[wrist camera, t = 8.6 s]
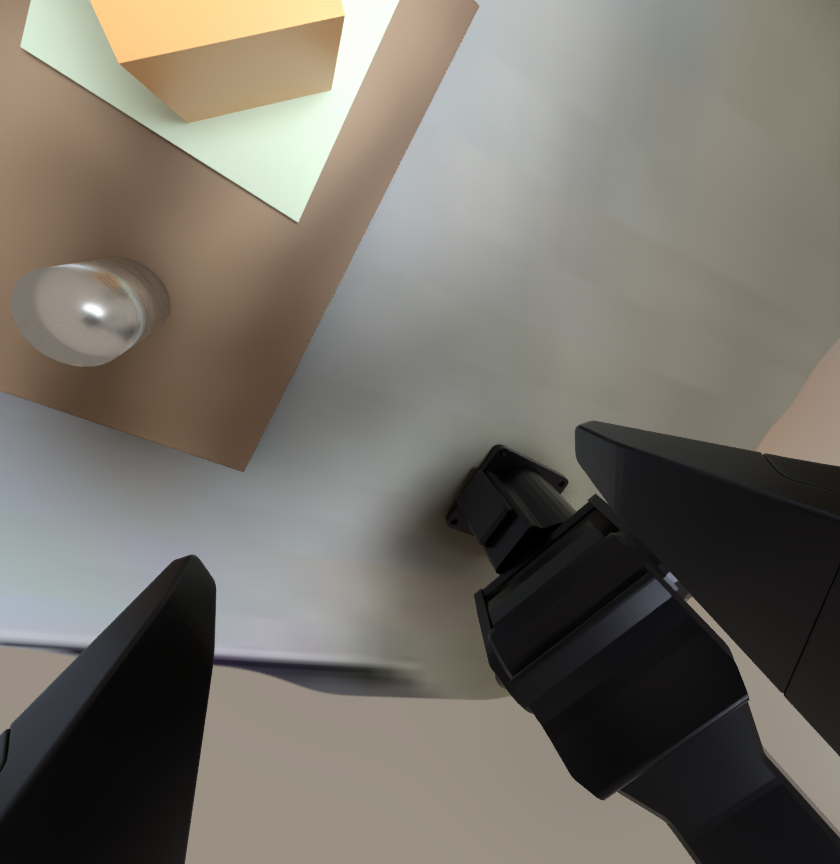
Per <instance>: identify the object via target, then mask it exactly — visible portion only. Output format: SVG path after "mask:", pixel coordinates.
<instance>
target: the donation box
mask: <svg viewBox="0 0 840 864" xmlns="http://www.w3.org/2000/svg"><path fill="white" fill-rule="evenodd" d="M90 2H91V4H92V6H93V9H94V11H95V13H96V15H97V17H98V19H99V22H100V24H101V26H102V28H103V30H104V32H105V35H106V37H107V39H108V41H109V43H110V46H111V48H112V50H113V52H114V54H115V56H116V59H117V61H118V63H119V64H120V65H121V66H122V67H123V68H125V69H126V70H127V71H128V72H129V73H130V74H131V75H133V76H134V77H135V78H136V79H137V80H138V81H140V82H141V83H142V84H143V85H144V86H145V87H147V88H148V89H149V90H150V91H151V92H152V93H153V94H155V95H156V96H157V97H158V98H159V99H160V100H162V101H163V102H164V103H165V104H166V105H167V106H169V107H170V108H171V109H172V110H173V111H174V112H175V113H177V114H178V115H179V116H180V117H181V118H182V119H184V120H185V121H186V122H187V123H191V122H195V121H200V120H204V119H208V118H213V117H217V116H221V115H226V114H230V113H234V112H239V111H243V110H247V109H252V108H256V107H260V106H264V105H269V104H273V103H277V102H282V101H286V100H290V99H295V98H299V97H303V96H308V95H312V94H316V93H321V92H325V91H329V90H331V89H332V84H333V78H334V73H335V67H336V62H337V56H338V51H339V45H340V40H341V34H342V29H343V23H344V18H345V14H344V9H343V5H342V1H341V0H90Z"/></svg>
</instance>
